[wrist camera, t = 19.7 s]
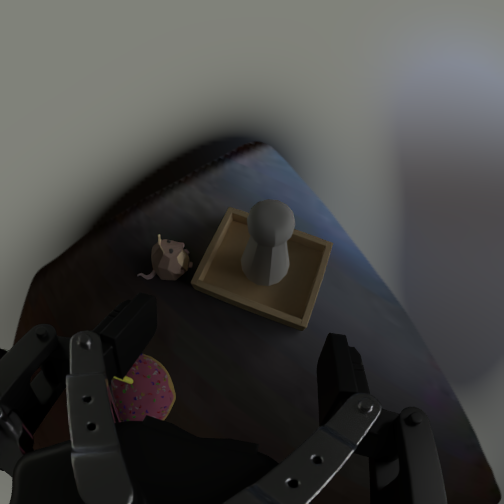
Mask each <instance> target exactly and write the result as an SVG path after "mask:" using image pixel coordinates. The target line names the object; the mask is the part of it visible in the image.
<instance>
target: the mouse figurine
mask: <svg viewBox="0 0 504 504" xmlns="http://www.w3.org/2000/svg"><path fill="white" fill-rule="evenodd" d="M183 248H184V243H180V242H176V241H173V240H168V239H163V240H161V238H160V234H159V235H158V242H157V243H156V244H155V245H154V246H153V248H152V254H151V260H152V266H153V271H152V272H151V273H150V274H149V275H144V274H143V273H140V274H138V275H137V276H140V275H141V276H142V277H143V278H145V279H147V280H148V279H152V278H153V277H154V276H155V275H156V273H157V275H158V276H159V277H160V279H161V280H175V281H176V280H177V279H178V278H179V277H180V276H182V275H183V274H184V273H185V272H186V271H187V270H188V268H192V265H193V262H190V259H189V256H188V254H189V253H190V252H189V251H188V250H187V249H185V250H184V249H183Z"/></svg>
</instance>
